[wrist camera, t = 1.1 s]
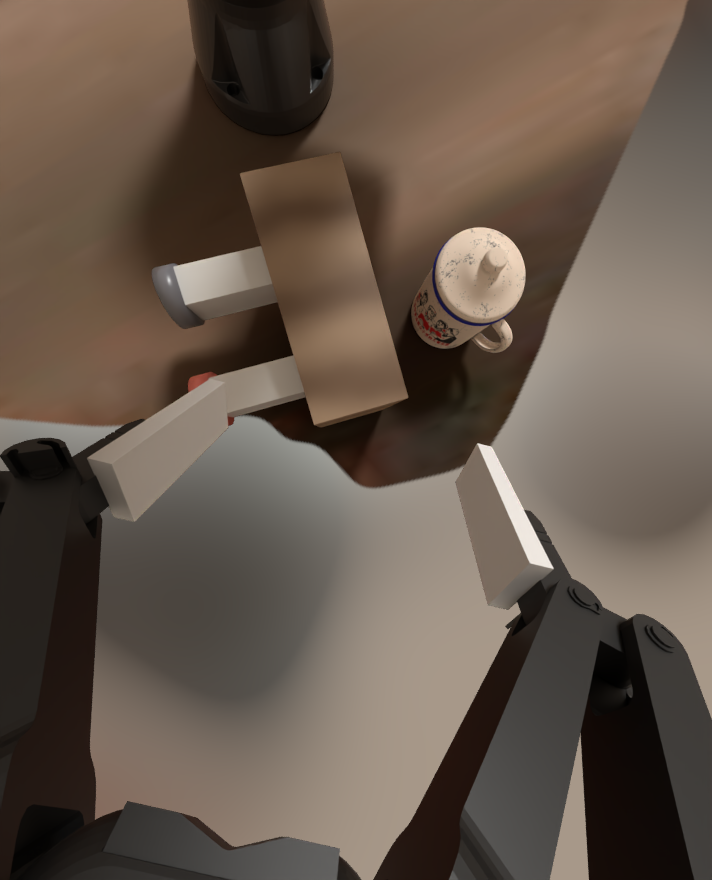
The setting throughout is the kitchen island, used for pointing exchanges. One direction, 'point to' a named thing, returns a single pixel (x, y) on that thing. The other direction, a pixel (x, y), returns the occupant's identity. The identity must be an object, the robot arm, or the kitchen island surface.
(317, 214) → the walnut plug block
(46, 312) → the kitchen island surface
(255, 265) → the graphite plug
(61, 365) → the kitchen island surface
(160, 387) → the kitchen island surface
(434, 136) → the kitchen island surface
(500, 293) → the teacup with lid
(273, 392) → the red plug
